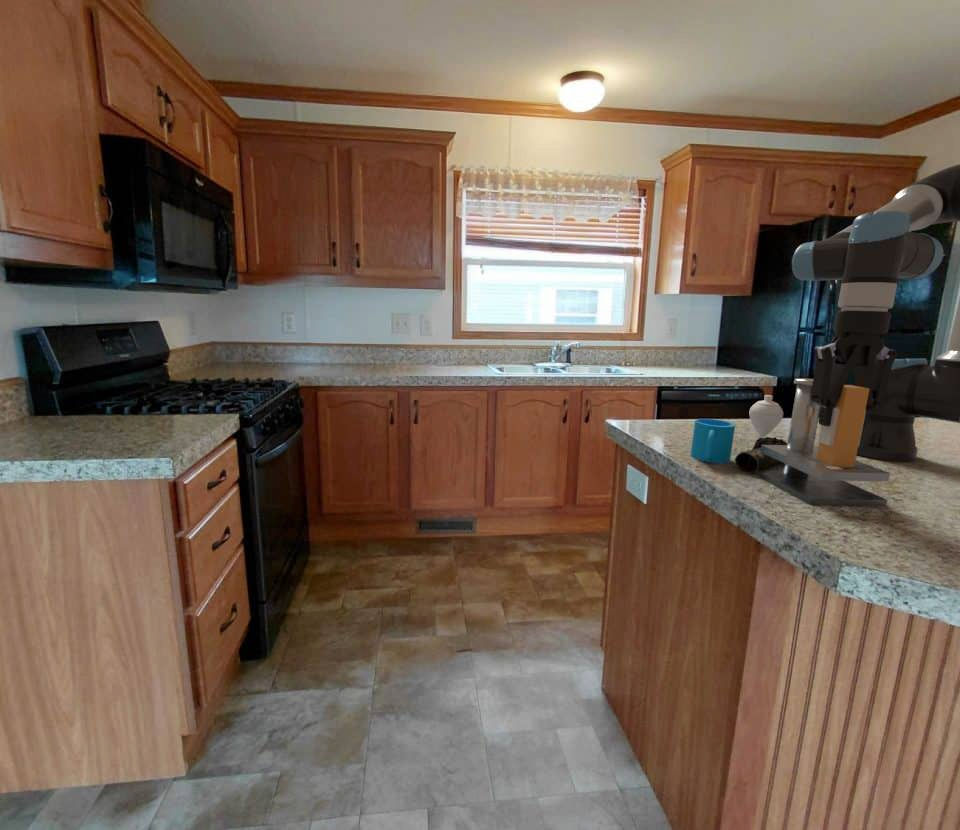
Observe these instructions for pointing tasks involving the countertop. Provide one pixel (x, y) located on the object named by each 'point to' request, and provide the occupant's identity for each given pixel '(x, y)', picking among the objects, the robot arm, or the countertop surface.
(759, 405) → the spinning top
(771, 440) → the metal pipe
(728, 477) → the countertop surface
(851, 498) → the two-tier gray stand
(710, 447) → the mug
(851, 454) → the orange upright block
